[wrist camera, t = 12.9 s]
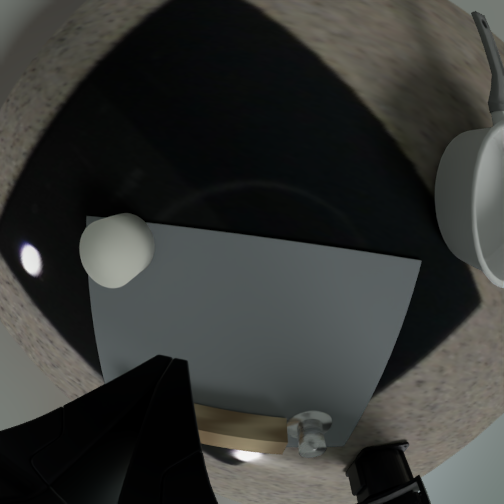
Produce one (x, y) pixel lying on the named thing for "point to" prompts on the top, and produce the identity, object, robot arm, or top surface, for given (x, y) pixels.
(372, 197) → the top surface
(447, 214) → the saucepan
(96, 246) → the door stop
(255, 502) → the top surface
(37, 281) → the top surface
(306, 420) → the hinge pin
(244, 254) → the mat
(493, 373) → the top surface
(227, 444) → the wooden block
